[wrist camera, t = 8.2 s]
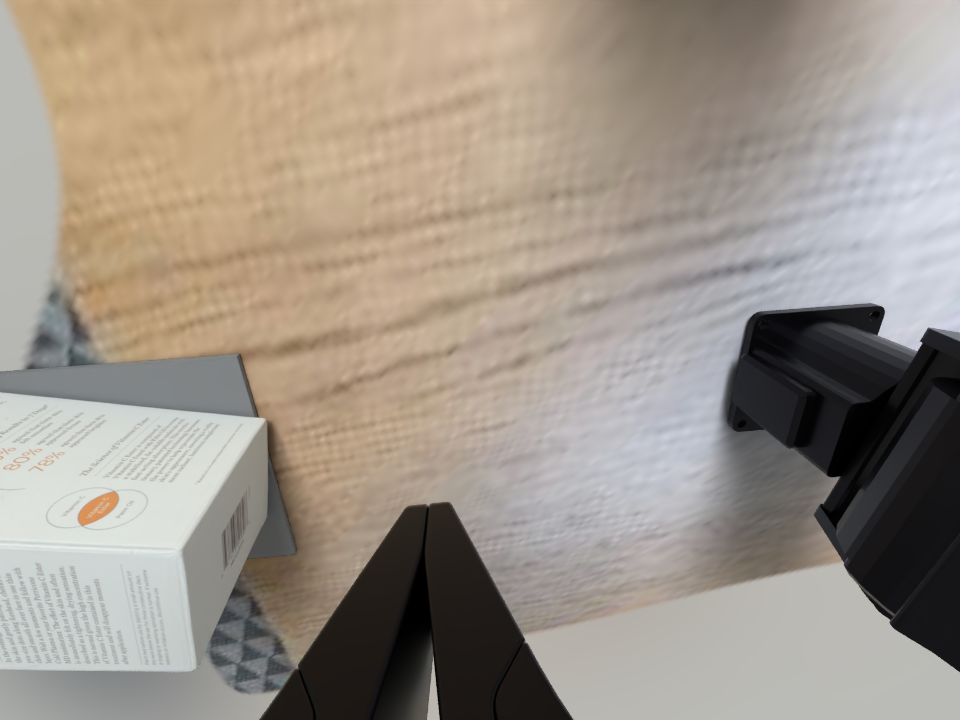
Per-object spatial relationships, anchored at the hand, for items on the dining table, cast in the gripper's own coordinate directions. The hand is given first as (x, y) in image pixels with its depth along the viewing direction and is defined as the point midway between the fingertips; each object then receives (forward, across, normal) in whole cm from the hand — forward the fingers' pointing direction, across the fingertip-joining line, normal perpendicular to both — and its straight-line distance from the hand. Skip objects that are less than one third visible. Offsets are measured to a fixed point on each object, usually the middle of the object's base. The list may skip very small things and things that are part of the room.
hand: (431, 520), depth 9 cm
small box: (+8, +9, +7) cm, 14 cm away
